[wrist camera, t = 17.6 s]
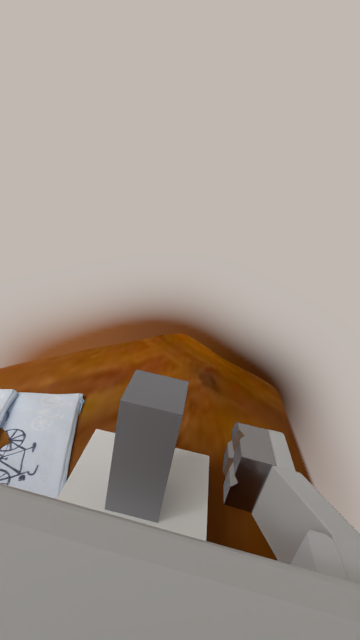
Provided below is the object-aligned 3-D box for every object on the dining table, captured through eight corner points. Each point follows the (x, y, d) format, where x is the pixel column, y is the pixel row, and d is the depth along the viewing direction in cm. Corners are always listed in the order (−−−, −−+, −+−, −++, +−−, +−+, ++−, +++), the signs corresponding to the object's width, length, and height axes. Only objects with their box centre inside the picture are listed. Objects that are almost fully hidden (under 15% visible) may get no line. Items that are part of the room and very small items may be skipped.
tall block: (104, 509, 28) (120, 400, 24) (120, 466, 33) (136, 369, 28) (157, 522, 28) (182, 415, 24) (166, 478, 32) (188, 381, 28)
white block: (28, 575, 25) (29, 546, 24) (93, 451, 38) (96, 428, 37) (195, 619, 24) (204, 592, 23) (203, 477, 38) (209, 456, 36)
